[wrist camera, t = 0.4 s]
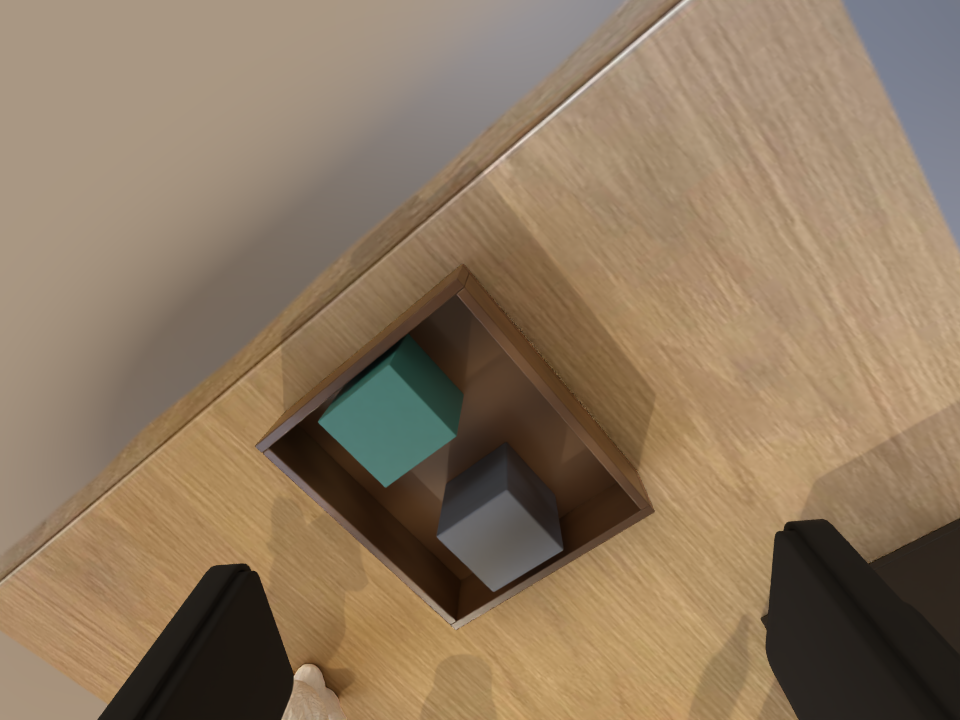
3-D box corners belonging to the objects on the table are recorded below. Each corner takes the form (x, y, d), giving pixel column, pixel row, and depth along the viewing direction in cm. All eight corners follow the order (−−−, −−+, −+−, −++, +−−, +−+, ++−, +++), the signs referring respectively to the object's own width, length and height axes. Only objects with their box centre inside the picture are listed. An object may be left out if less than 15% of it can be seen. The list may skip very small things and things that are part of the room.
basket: (759, 618, 32) (832, 746, 25) (972, 511, 28) (1127, 625, 21) (855, 732, 35) (943, 874, 28) (1056, 648, 32) (1214, 786, 25)
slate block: (445, 483, 29) (435, 537, 24) (506, 440, 27) (507, 489, 23) (494, 534, 30) (493, 593, 26) (555, 494, 28) (564, 550, 24)
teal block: (345, 382, 27) (316, 422, 22) (407, 331, 25) (388, 364, 21) (402, 440, 28) (385, 488, 24) (464, 394, 26) (457, 436, 22)
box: (283, 413, 28) (254, 446, 25) (463, 263, 25) (457, 277, 21) (460, 582, 32) (455, 630, 28) (637, 472, 28) (655, 511, 25)
